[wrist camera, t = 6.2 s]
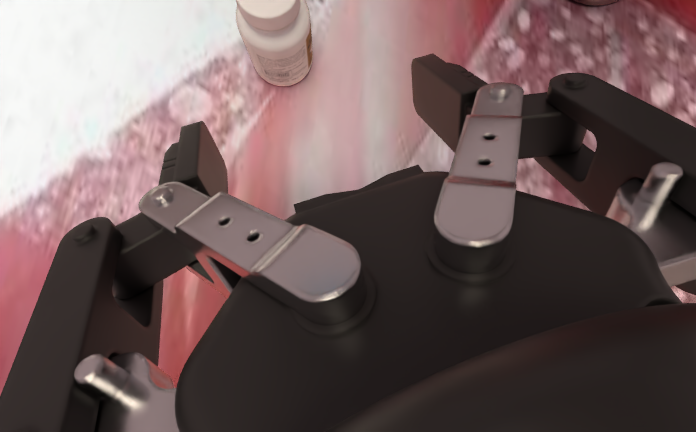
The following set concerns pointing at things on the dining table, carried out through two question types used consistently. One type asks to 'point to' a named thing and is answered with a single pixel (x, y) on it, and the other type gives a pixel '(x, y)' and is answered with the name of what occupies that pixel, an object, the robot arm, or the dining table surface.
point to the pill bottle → (277, 38)
